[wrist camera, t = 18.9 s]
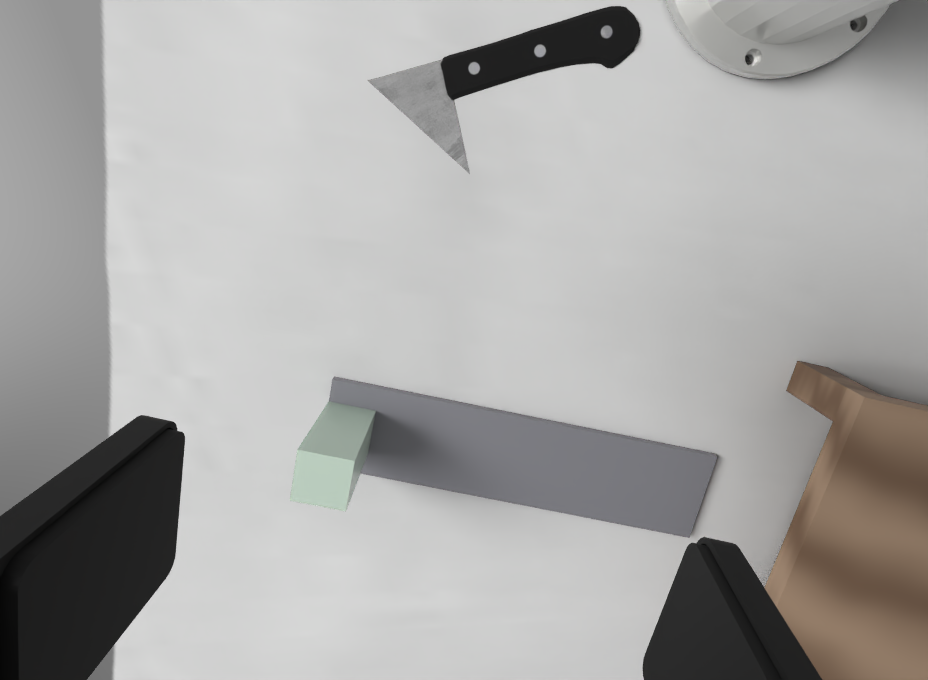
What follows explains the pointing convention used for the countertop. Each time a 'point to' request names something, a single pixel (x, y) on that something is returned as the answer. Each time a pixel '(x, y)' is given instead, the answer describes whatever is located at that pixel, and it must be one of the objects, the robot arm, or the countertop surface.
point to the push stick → (496, 459)
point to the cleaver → (505, 69)
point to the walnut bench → (859, 536)
